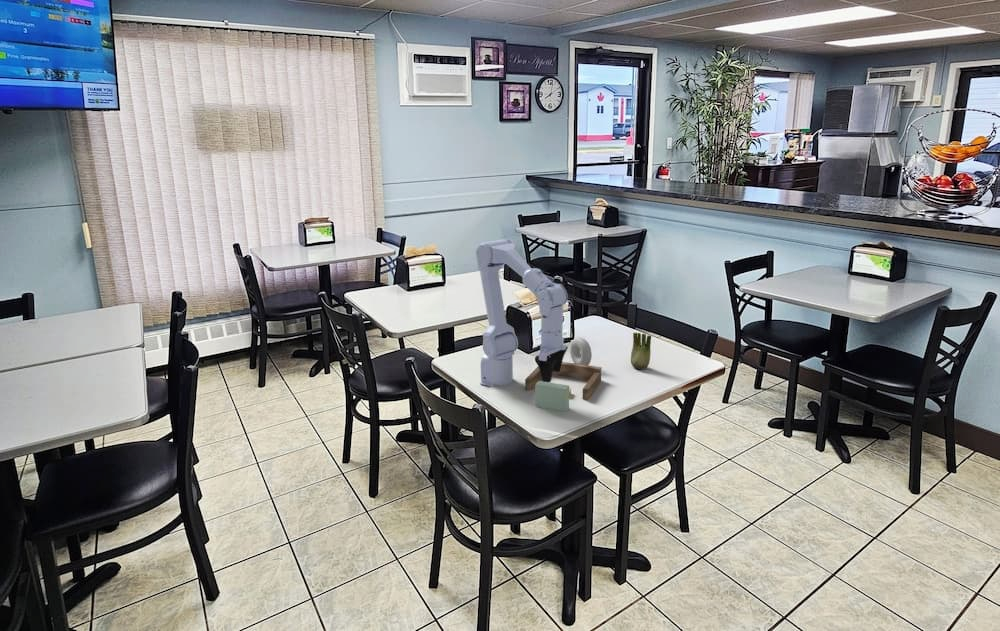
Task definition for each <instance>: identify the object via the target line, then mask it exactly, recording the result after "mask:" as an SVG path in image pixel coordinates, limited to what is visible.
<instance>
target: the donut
mask: <svg viewBox="0 0 1000 631" xmlns="http://www.w3.org/2000/svg"><path fill="white" fill-rule="evenodd" d="M569 353H570V358H571V360H572V363H575V364H582V365H589V366H590V364H591V360H592V353H593V352H592V348H591V346H590V344H589V342H588V341H587V340H586V339H585V338H583V337H578V336H577V337H576V338H574V339H573V340H572V341H571V344H570V347H569Z"/></svg>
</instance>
